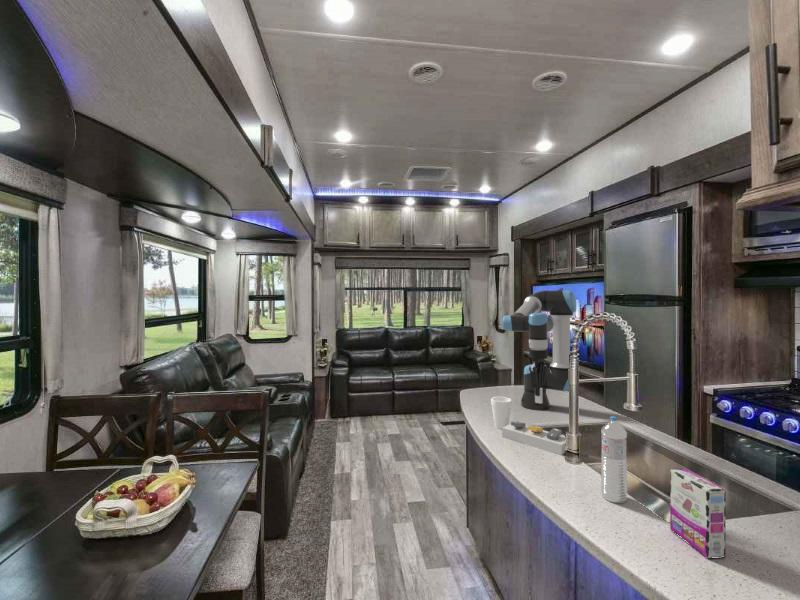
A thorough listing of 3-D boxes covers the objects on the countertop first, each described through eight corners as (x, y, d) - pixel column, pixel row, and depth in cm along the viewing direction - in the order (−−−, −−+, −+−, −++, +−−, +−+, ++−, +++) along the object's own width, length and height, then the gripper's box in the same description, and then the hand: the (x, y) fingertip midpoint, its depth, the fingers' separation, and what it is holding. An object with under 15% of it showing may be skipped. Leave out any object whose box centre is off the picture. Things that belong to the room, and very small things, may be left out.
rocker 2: (553, 430, 154) (552, 427, 154) (561, 433, 151) (561, 429, 151) (546, 437, 150) (546, 434, 150) (555, 440, 147) (555, 436, 147)
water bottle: (626, 506, 108) (626, 422, 108) (600, 500, 112) (600, 418, 112) (627, 496, 114) (627, 415, 114) (601, 490, 118) (601, 412, 117)
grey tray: (513, 430, 169) (513, 420, 169) (592, 453, 145) (592, 441, 144) (502, 436, 162) (502, 426, 162) (583, 461, 138) (582, 449, 138)
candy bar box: (727, 558, 87) (727, 489, 87) (707, 560, 86) (707, 490, 86) (686, 528, 98) (686, 467, 98) (669, 530, 98) (669, 468, 97)
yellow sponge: (534, 429, 159) (535, 426, 160) (542, 431, 157) (543, 428, 157) (528, 429, 155) (528, 425, 156) (536, 431, 153) (536, 428, 153)
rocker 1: (517, 424, 165) (518, 421, 166) (525, 426, 163) (525, 423, 163) (510, 425, 161) (511, 421, 161) (518, 427, 159) (518, 423, 159)
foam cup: (509, 423, 179) (509, 396, 179) (513, 430, 170) (513, 402, 170) (489, 422, 180) (489, 396, 180) (492, 429, 171) (492, 402, 171)
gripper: (536, 346, 167) (537, 397, 167) (522, 349, 158) (523, 404, 158) (553, 347, 161) (553, 401, 162) (539, 351, 152) (540, 408, 153)
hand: (538, 402), depth 160 cm, fingers closed
